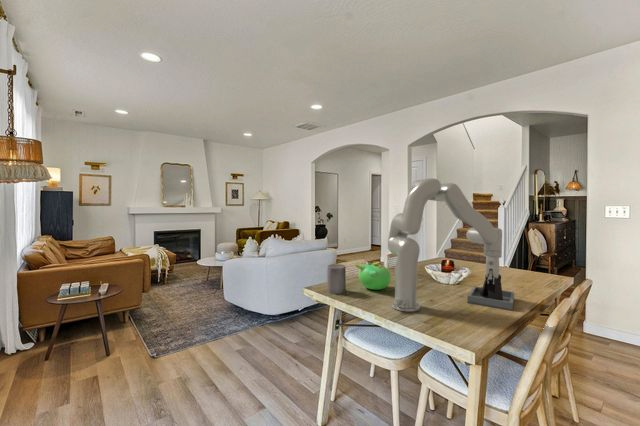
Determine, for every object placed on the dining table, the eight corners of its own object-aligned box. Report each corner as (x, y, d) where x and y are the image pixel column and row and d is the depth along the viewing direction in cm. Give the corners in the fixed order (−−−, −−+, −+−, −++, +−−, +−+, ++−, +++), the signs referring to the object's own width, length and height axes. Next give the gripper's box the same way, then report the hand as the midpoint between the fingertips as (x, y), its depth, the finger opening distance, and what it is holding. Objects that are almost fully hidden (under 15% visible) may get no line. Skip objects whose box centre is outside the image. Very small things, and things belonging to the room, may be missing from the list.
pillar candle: (336, 287, 167) (336, 260, 167) (349, 291, 160) (349, 263, 159) (323, 291, 161) (323, 263, 160) (336, 295, 154) (336, 266, 153)
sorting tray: (512, 310, 133) (512, 303, 133) (467, 302, 144) (467, 295, 143) (514, 299, 150) (514, 292, 150) (473, 292, 160) (474, 286, 160)
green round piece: (396, 290, 164) (397, 263, 163) (375, 296, 153) (376, 267, 153) (371, 283, 178) (371, 258, 177) (350, 287, 167) (351, 261, 167)
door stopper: (503, 302, 142) (505, 276, 141) (490, 301, 142) (492, 276, 141) (492, 295, 151) (494, 272, 150) (480, 295, 151) (482, 271, 150)
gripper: (500, 256, 137) (498, 296, 137) (502, 252, 151) (501, 288, 151) (481, 255, 141) (480, 293, 142) (485, 250, 155) (484, 285, 156)
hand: (491, 290), depth 146 cm, fingers closed on door stopper, 5 cm apart
